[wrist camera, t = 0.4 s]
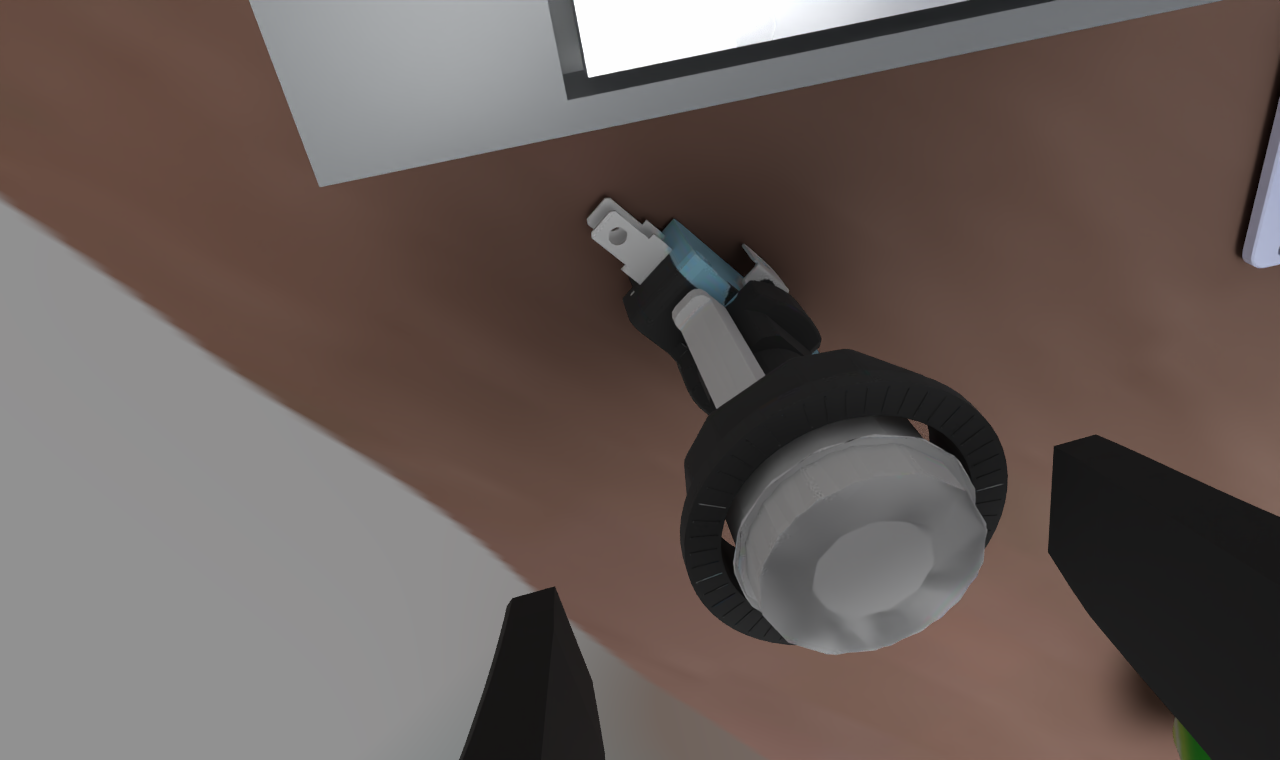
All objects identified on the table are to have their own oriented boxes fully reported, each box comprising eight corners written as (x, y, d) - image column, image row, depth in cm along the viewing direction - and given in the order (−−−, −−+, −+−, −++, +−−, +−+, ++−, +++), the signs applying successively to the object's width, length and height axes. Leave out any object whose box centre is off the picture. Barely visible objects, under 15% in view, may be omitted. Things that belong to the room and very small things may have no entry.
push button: (523, 281, 20) (550, 569, 11) (673, 108, 18) (836, 286, 10) (714, 420, 23) (851, 732, 14) (856, 279, 21) (1106, 533, 13)
